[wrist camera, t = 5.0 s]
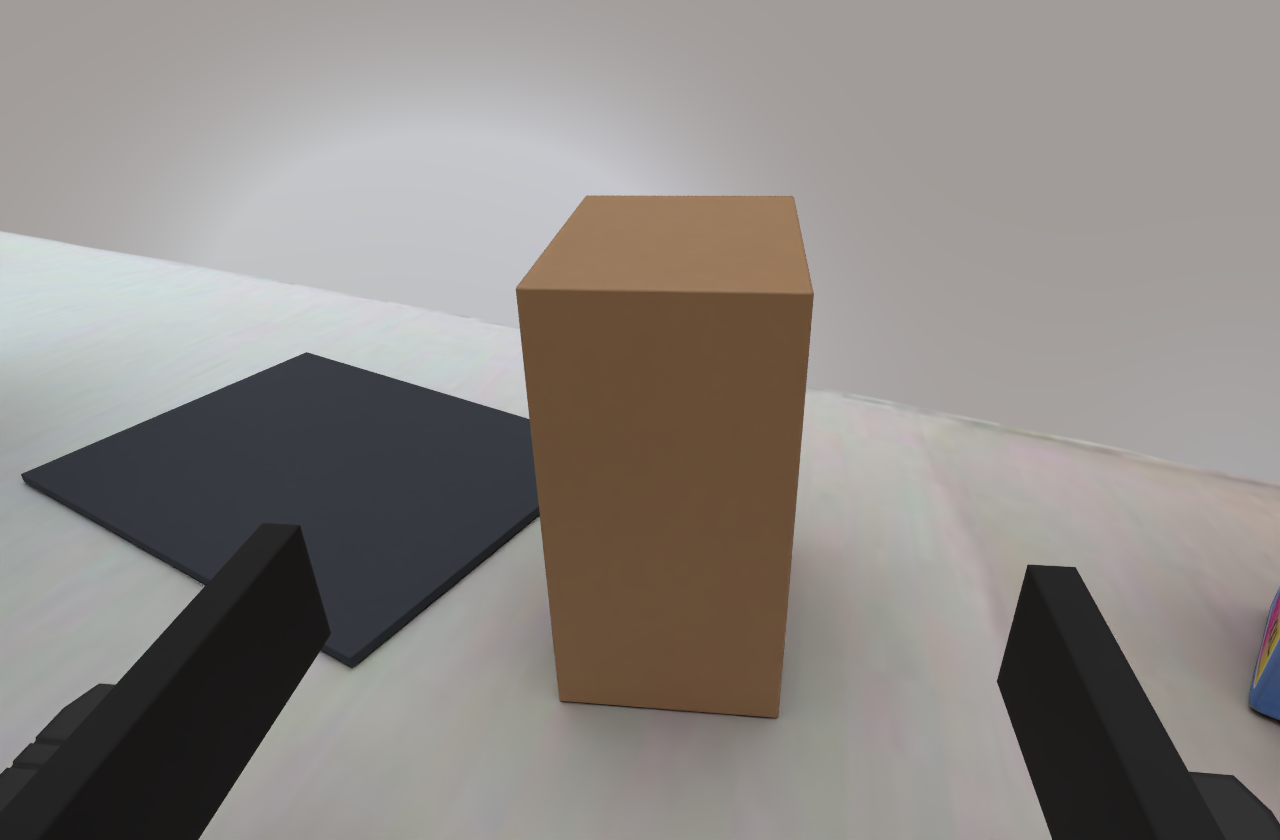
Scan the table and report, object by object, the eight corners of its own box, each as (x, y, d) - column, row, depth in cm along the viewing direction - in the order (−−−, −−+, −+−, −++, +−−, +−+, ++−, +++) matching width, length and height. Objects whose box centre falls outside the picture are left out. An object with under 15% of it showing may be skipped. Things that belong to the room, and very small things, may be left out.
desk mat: (24, 482, 33) (20, 474, 33) (308, 358, 43) (306, 352, 43) (352, 668, 23) (349, 658, 23) (615, 452, 34) (615, 444, 33)
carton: (558, 701, 22) (514, 287, 16) (604, 528, 29) (585, 195, 23) (778, 718, 21) (814, 291, 15) (771, 537, 28) (794, 195, 22)
